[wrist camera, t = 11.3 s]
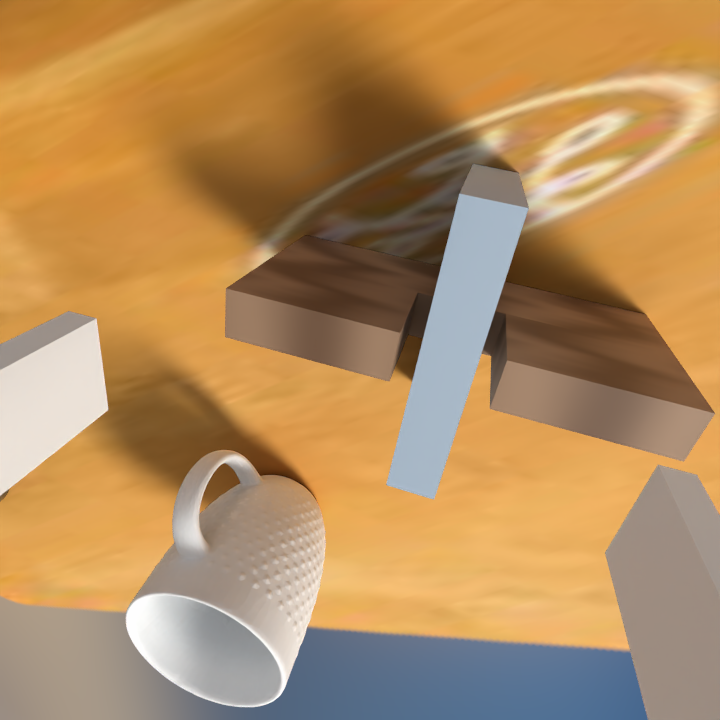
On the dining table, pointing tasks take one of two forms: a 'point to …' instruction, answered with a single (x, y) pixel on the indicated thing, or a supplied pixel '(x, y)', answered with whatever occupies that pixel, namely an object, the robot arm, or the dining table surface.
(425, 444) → the pale blue flat slat
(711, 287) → the dining table surface
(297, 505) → the mug
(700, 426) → the walnut slot plate
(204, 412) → the dining table surface
